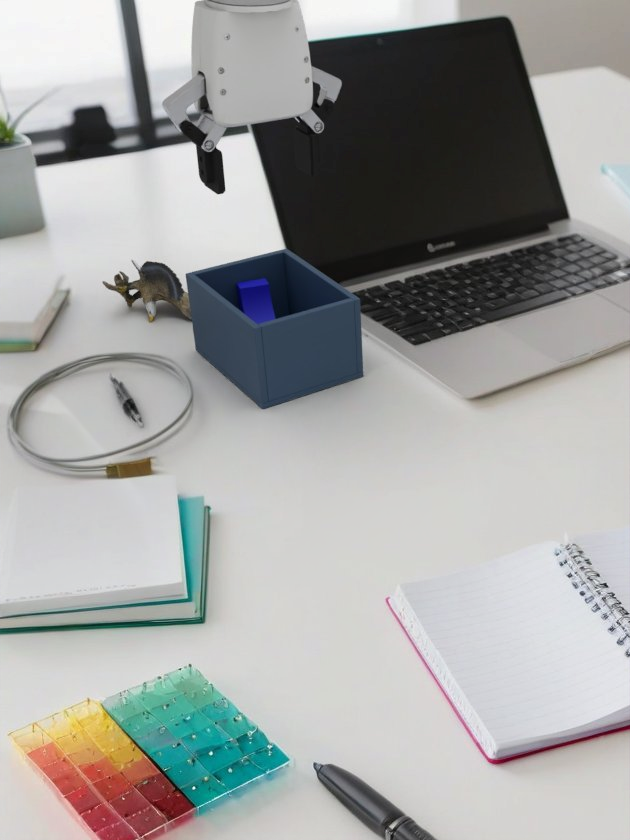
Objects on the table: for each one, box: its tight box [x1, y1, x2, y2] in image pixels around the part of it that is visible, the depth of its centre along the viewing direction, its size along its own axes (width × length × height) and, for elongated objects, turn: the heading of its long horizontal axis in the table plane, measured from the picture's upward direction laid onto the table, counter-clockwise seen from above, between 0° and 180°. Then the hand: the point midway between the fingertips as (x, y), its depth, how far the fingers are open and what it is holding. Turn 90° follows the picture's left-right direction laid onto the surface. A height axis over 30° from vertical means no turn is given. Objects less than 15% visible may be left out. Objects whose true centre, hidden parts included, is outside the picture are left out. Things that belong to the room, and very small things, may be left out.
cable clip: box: [236, 278, 276, 324], centre depth 116 cm, size 12×4×6 cm, turn 26°
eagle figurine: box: [102, 259, 192, 323], centre depth 125 cm, size 8×7×9 cm
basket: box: [185, 248, 364, 410], centre depth 116 cm, size 11×14×9 cm
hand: (261, 180), depth 109 cm, fingers open, 9 cm apart
